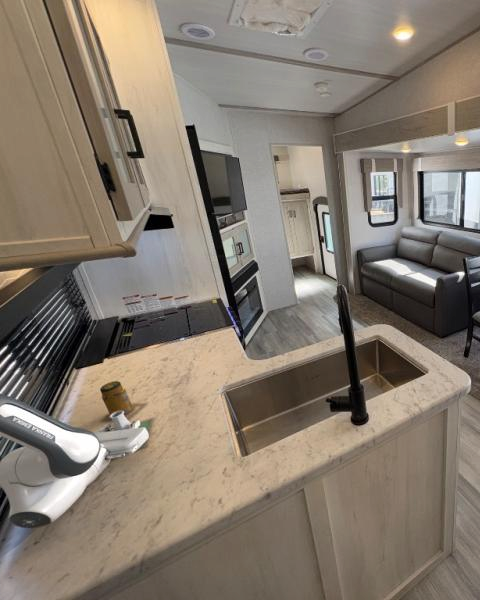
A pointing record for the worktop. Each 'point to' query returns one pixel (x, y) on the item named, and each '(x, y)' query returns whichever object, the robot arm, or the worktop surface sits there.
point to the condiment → (116, 398)
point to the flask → (120, 421)
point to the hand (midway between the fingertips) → (124, 423)
